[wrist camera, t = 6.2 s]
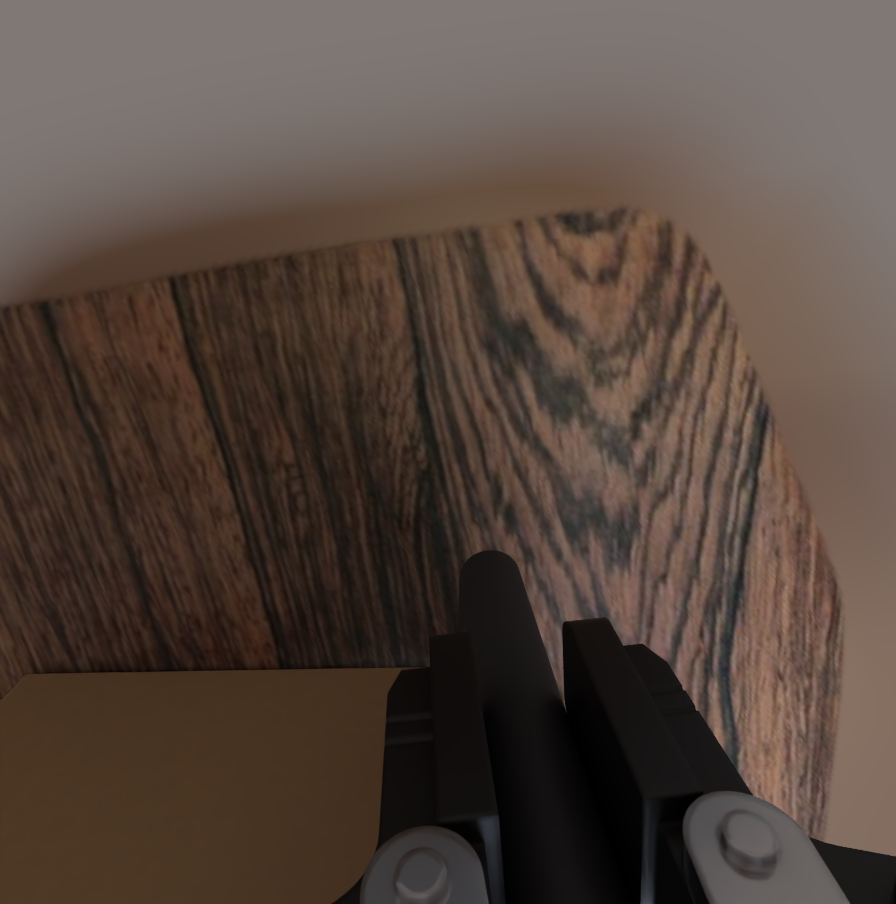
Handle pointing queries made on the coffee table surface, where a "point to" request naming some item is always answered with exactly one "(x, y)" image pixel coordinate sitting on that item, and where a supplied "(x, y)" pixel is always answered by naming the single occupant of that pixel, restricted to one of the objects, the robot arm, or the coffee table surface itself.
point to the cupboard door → (280, 776)
